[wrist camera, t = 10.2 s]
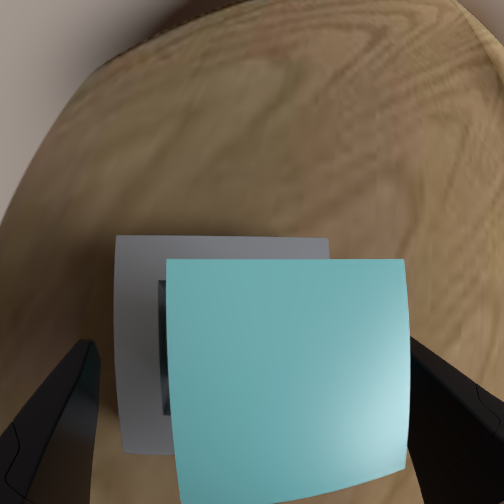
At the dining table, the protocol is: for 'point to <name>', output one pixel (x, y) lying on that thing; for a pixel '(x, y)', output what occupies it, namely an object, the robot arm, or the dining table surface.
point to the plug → (286, 375)
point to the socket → (154, 321)
